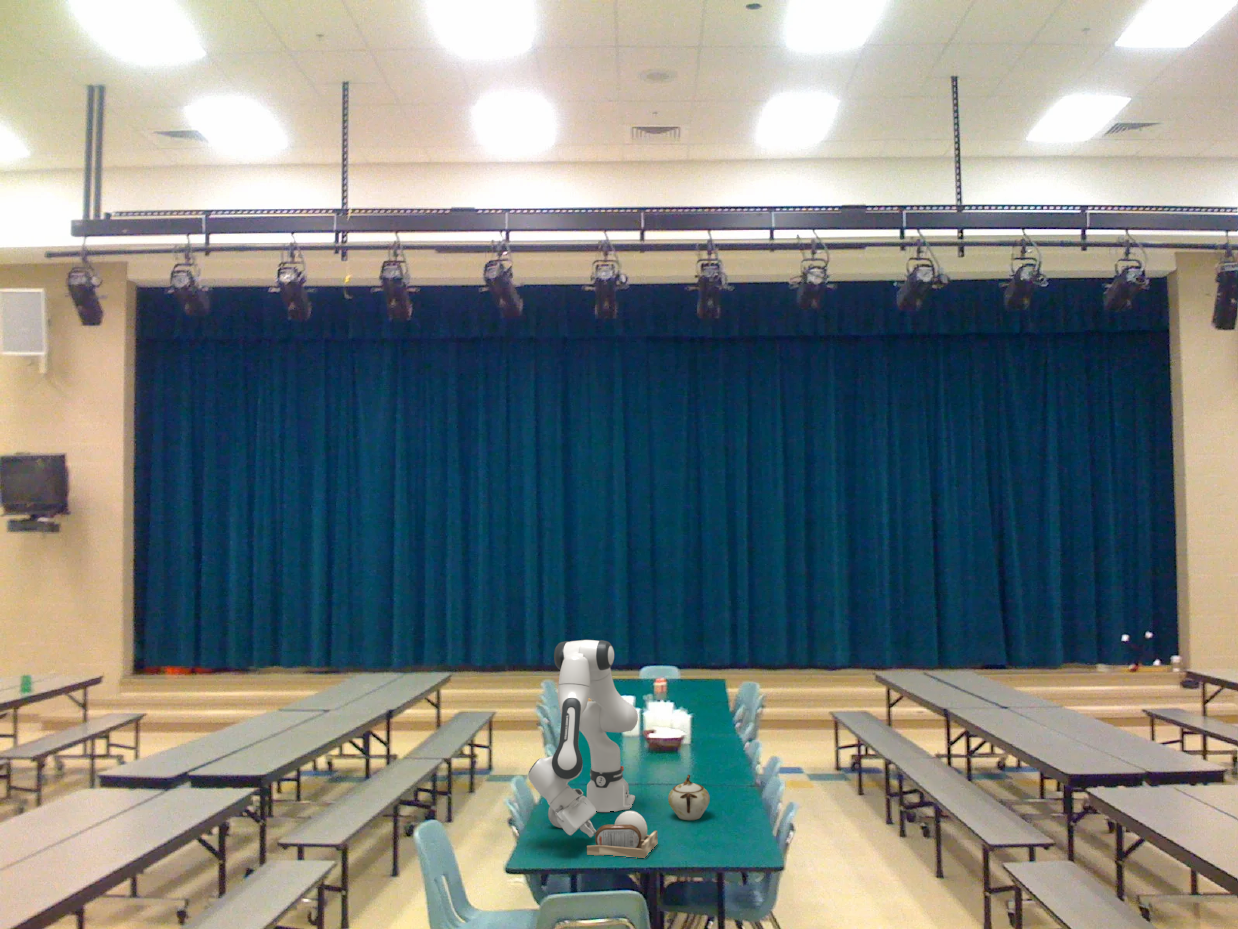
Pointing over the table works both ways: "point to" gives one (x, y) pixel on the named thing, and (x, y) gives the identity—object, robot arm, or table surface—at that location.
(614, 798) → the robot arm
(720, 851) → the table surface
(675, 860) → the table surface
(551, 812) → the donut
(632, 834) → the tin
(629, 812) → the racked plate
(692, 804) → the sugar bowl
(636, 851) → the rack
